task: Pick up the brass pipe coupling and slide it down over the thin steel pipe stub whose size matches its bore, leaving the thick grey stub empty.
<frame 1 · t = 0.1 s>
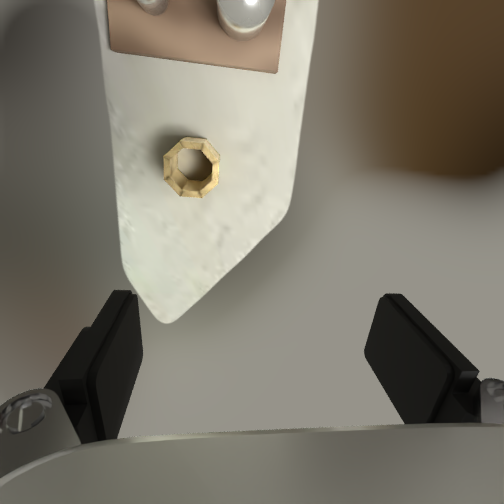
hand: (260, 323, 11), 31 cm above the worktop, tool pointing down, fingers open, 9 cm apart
pipe board: (199, 8, 32), on the worktop
brass coupling: (195, 162, 38), on the worktop
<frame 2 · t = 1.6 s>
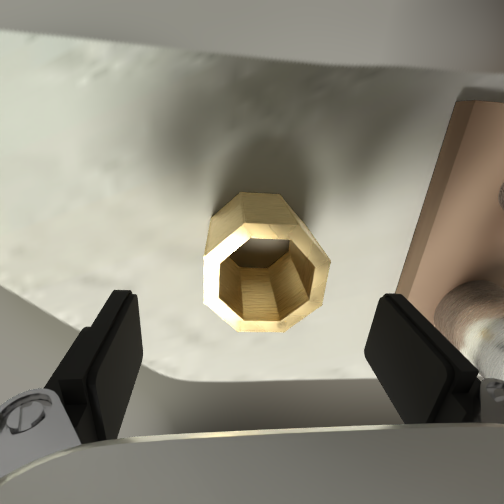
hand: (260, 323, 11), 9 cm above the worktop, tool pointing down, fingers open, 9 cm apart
pipe board: (476, 246, 21), on the worktop
brass coupling: (256, 237, 20), on the worktop
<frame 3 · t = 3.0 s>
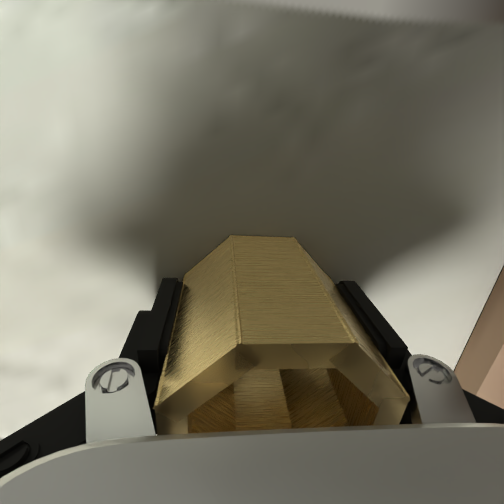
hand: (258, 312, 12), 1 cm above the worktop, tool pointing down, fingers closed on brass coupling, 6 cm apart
brass coupling: (256, 301, 13), on the worktop, touching gripper
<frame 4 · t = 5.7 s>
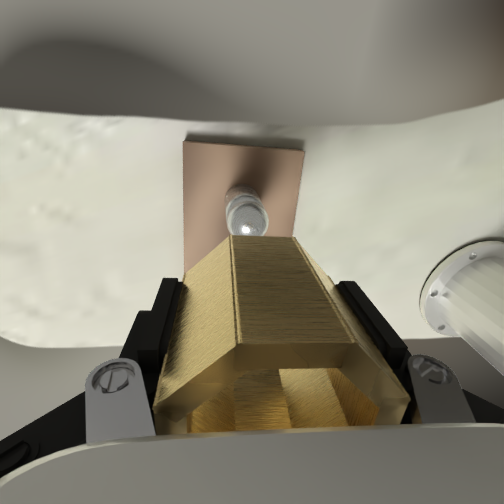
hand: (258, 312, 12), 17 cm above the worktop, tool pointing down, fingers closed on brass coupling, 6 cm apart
pipe stubs: (240, 270, 25), on the pipe board, point 5 cm above the worktop
pipe board: (237, 241, 29), on the worktop
brass coupling: (256, 300, 13), point 16 cm above the worktop, touching gripper
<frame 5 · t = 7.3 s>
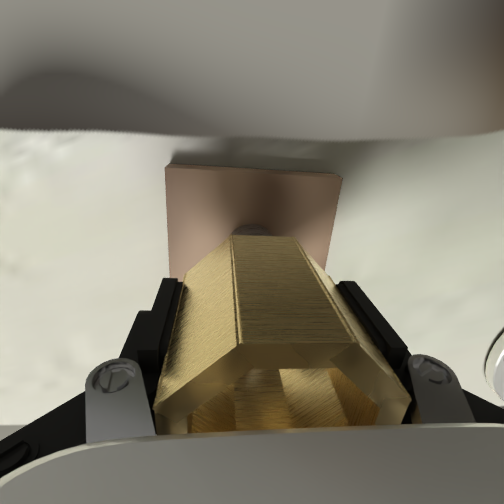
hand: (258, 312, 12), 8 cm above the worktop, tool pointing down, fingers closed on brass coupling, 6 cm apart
pipe stubs: (249, 350, 17), on the pipe board, point 5 cm above the worktop
pipe board: (244, 295, 22), on the worktop
brass coupling: (256, 300, 13), point 8 cm above the worktop, touching gripper
when the fingers open (5 cm above the worktop, at t = 8.5 s): brass coupling drops 2 cm, resting on pipe board.
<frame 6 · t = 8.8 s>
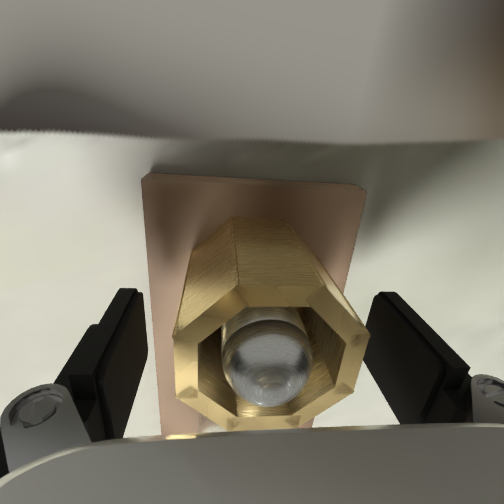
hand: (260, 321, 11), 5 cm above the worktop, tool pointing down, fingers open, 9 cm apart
pipe stubs: (250, 407, 14), on the pipe board, point 5 cm above the worktop
pipe board: (244, 328, 18), on the worktop
brass coupling: (253, 275, 15), point 1 cm above the worktop, touching pipe board
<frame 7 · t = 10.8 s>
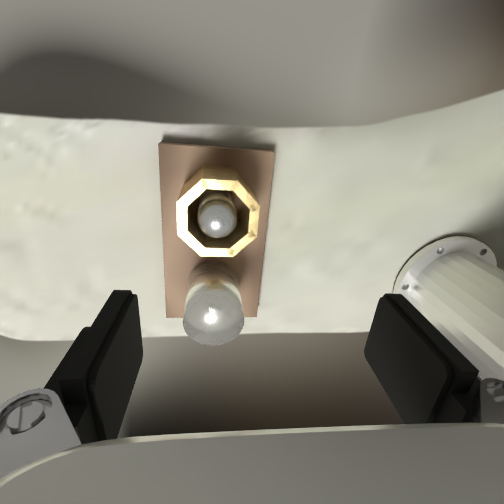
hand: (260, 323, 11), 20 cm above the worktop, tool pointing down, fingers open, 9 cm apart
pipe stubs: (215, 264, 26), on the pipe board, point 5 cm above the worktop
pipe board: (214, 237, 31), on the worktop
brass coupling: (217, 198, 27), point 1 cm above the worktop, touching pipe board
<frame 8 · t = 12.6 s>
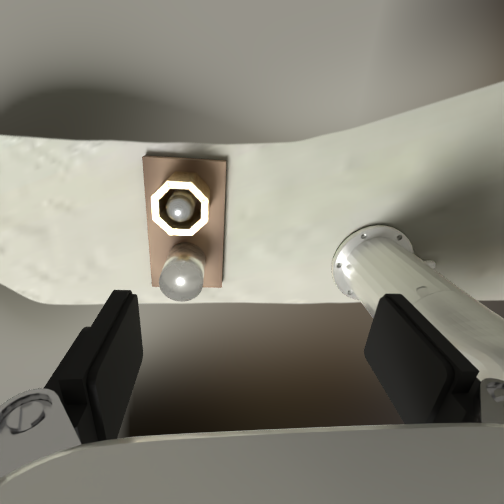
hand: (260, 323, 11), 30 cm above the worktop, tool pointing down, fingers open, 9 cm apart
pipe stubs: (183, 243, 37), on the pipe board, point 5 cm above the worktop
pipe board: (187, 225, 41), on the worktop
brass coupling: (186, 196, 38), point 1 cm above the worktop, touching pipe board
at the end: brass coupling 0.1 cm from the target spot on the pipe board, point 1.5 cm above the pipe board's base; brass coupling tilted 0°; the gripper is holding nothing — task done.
